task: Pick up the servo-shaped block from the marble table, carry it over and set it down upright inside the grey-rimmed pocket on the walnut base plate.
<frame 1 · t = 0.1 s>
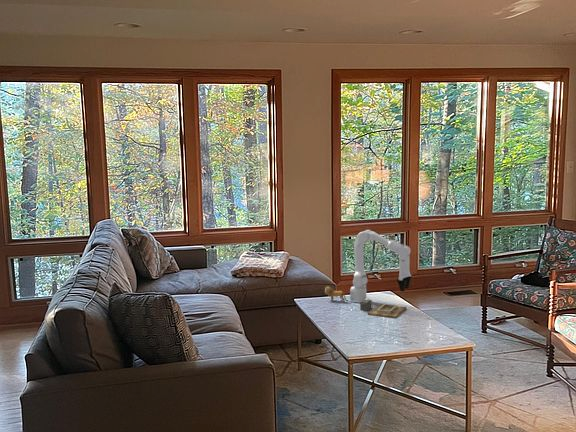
hand: (404, 289, 333), 10 cm above the table, tool pointing down, fingers open, 7 cm apart
pocket plate: (387, 311, 325), on the table
servo block: (365, 309, 331), on the table
lion figurine: (335, 301, 349), on the table
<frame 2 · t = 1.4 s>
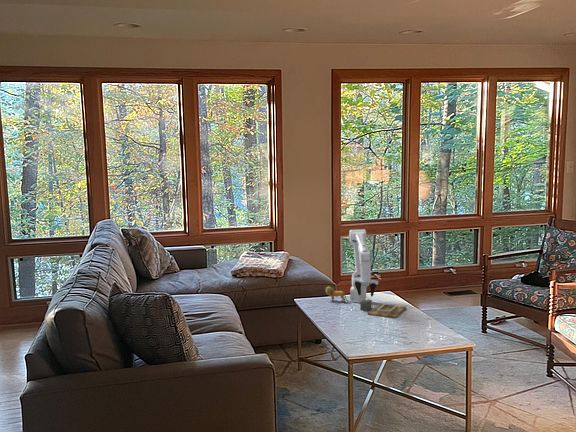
hand: (365, 295, 330), 8 cm above the table, tool pointing down, fingers open, 7 cm apart
nothing on the table moved.
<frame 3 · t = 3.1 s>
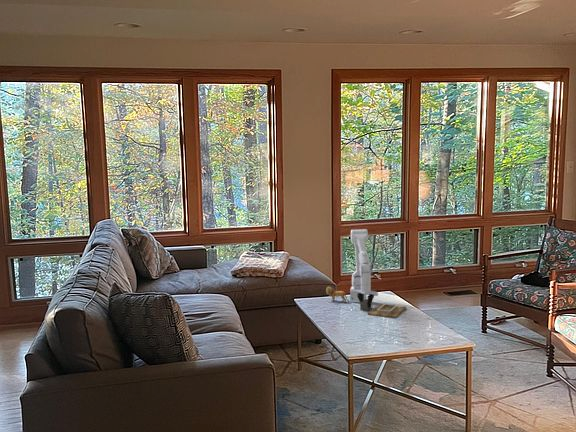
hand: (365, 306, 331), 1 cm above the table, tool pointing down, fingers closed on servo block, 4 cm apart
servo block: (365, 309, 331), on the table, touching gripper
everything else where it was.
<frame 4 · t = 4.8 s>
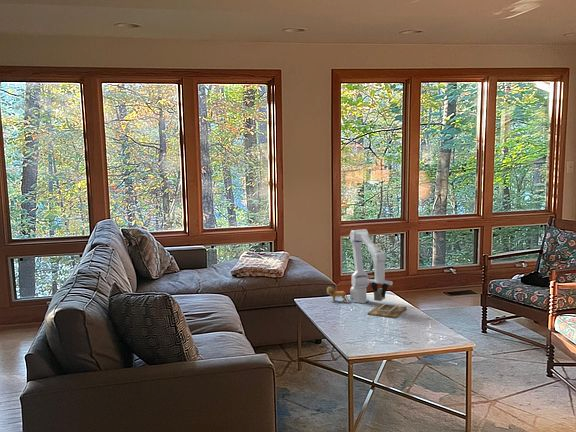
hand: (379, 296, 326), 9 cm above the table, tool pointing down, fingers closed on servo block, 4 cm apart
servo block: (379, 299, 326), point 7 cm above the table, touching gripper
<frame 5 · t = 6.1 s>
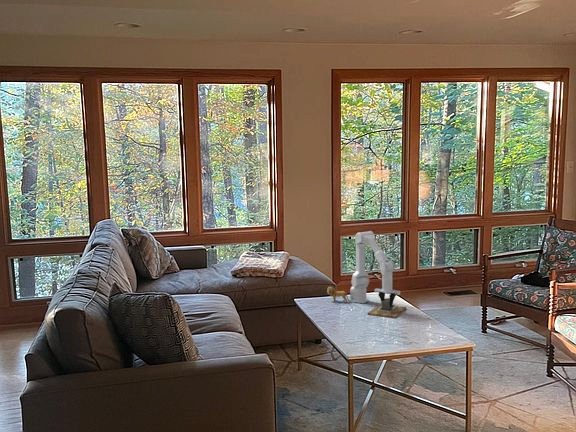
hand: (387, 305, 325), 3 cm above the table, tool pointing down, fingers closed on servo block, 4 cm apart
servo block: (387, 308, 325), point 2 cm above the table, touching gripper
when the fingers open (3 cm above the table, at t = 6.9 s): servo block stays where it is, resting on pocket plate.
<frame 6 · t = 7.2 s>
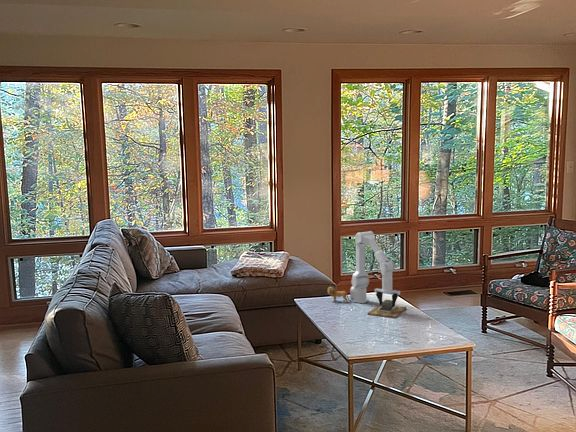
hand: (387, 305, 325), 3 cm above the table, tool pointing down, fingers open, 7 cm apart
servo block: (387, 310, 325), point 1 cm above the table, touching pocket plate
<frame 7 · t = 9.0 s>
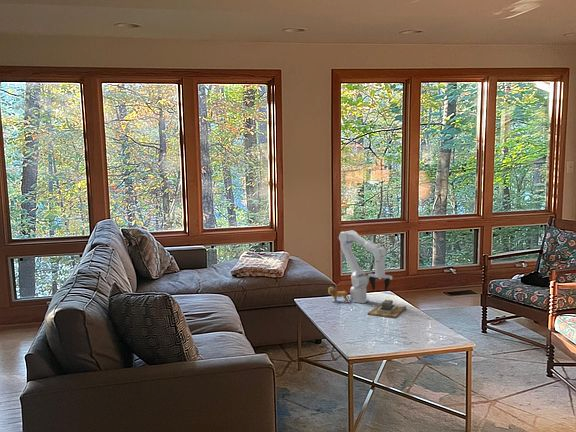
hand: (379, 290, 336), 9 cm above the table, tool pointing down, fingers open, 7 cm apart
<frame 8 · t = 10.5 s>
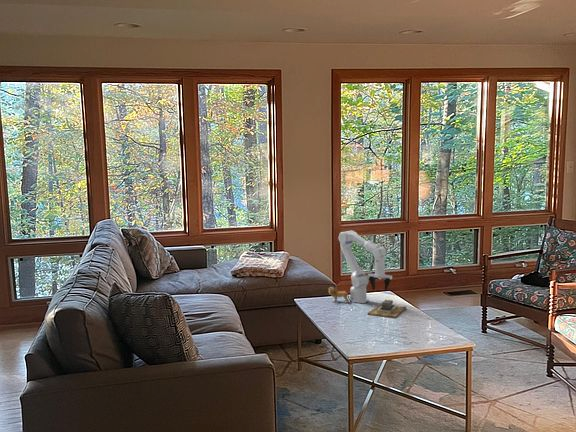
hand: (379, 290, 336), 9 cm above the table, tool pointing down, fingers open, 7 cm apart
at the end: servo block 0.2 cm off-centre on the pocket plate, point 1.0 cm above the pocket plate's base; servo block tilted 0°; the gripper is holding nothing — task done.
